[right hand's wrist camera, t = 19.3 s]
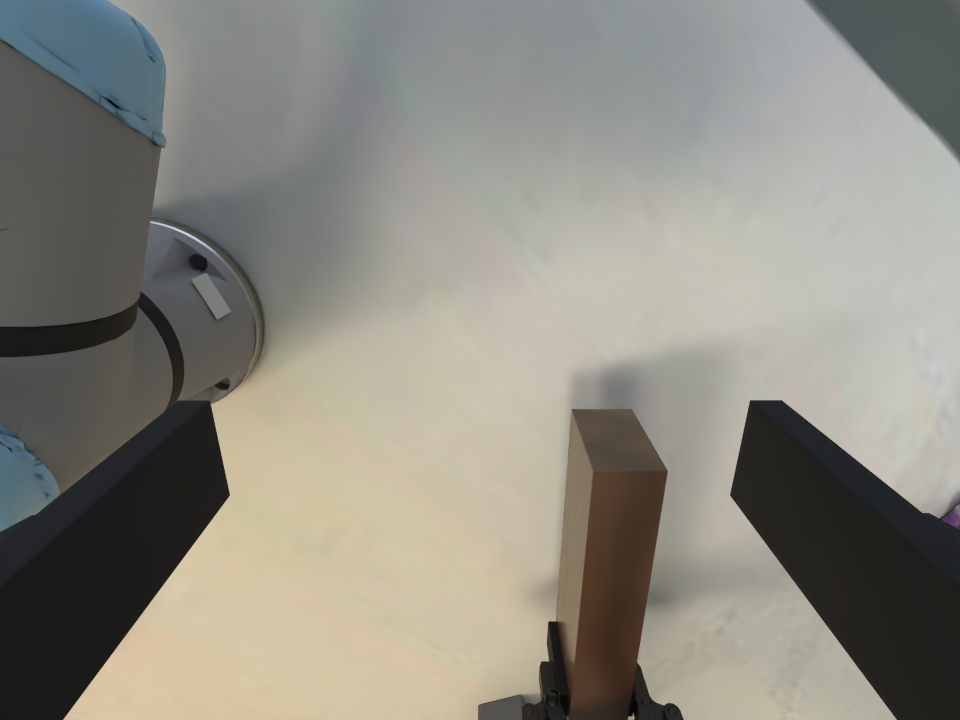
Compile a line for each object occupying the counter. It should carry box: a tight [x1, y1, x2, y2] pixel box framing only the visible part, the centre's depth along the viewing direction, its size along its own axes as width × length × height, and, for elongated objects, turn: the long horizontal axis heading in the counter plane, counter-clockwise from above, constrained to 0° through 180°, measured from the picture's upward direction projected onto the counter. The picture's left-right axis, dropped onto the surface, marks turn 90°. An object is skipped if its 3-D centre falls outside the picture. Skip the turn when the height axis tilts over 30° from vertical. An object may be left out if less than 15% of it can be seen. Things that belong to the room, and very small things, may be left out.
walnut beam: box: [556, 409, 668, 720], centre depth 39 cm, size 4×26×8 cm, turn 0°
